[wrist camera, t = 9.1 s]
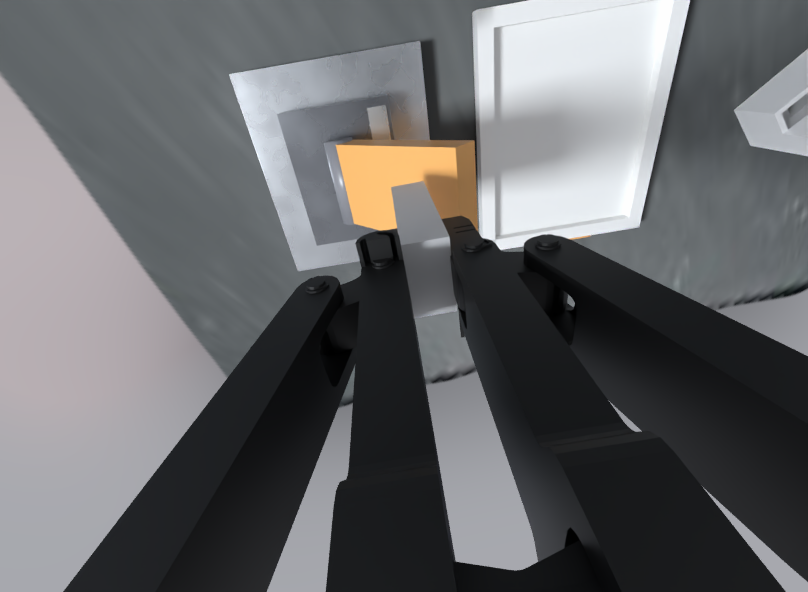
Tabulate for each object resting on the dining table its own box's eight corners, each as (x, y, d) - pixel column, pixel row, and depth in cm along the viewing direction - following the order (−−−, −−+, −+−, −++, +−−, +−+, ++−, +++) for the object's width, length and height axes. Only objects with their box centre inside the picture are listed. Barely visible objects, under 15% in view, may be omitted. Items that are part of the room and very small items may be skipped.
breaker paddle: (317, 143, 22) (452, 146, 15) (340, 137, 23) (477, 136, 16) (338, 222, 25) (459, 255, 18) (358, 213, 26) (480, 241, 19)
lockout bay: (472, 12, 22) (476, 9, 21) (681, -25, 22) (696, -30, 21) (479, 248, 30) (483, 254, 29) (629, 224, 30) (638, 229, 29)
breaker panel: (234, 74, 23) (219, 74, 21) (418, 42, 22) (422, 38, 20) (300, 265, 30) (294, 279, 28) (438, 242, 30) (443, 255, 28)
